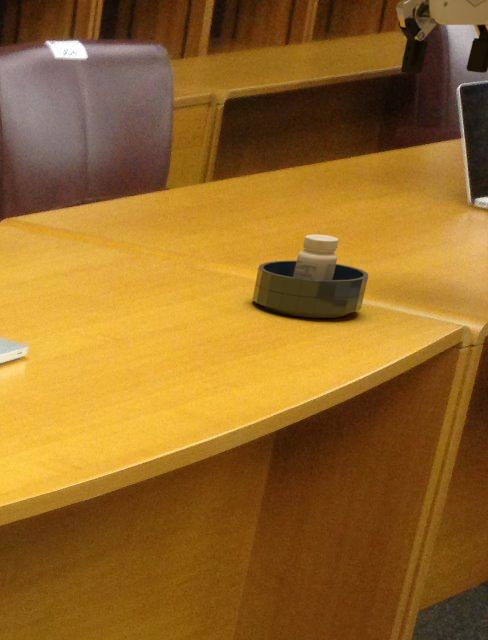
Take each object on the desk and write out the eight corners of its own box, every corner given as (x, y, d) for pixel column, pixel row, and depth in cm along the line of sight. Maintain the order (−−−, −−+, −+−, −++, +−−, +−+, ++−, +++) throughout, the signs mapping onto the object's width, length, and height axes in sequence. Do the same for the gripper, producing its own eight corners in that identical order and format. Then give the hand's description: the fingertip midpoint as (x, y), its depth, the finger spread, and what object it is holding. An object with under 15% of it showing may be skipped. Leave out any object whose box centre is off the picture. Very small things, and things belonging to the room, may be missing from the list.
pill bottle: (317, 298, 204) (333, 234, 200) (331, 307, 200) (348, 242, 196) (281, 297, 204) (296, 233, 200) (295, 306, 200) (311, 240, 196)
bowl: (381, 317, 197) (390, 278, 195) (289, 322, 195) (297, 283, 193) (319, 295, 209) (327, 258, 207) (231, 300, 207) (238, 262, 205)
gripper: (436, -73, 188) (403, 76, 195) (559, -73, 191) (522, 73, 198) (396, -73, 194) (366, 71, 202) (515, -74, 197) (481, 68, 205)
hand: (443, 72), depth 200 cm, fingers open, 9 cm apart
